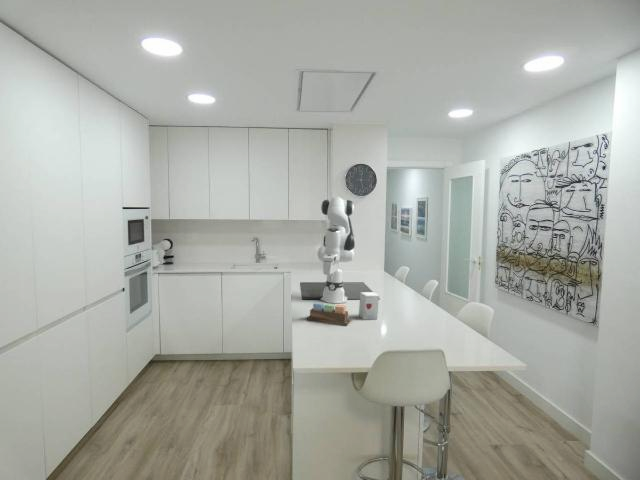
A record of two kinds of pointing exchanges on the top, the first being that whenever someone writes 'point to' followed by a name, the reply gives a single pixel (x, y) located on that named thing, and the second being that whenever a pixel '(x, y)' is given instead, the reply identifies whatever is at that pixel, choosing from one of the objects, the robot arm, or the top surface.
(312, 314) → the divided box
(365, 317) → the supplement box
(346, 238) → the robot arm
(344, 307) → the terracotta block
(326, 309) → the sage block
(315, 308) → the blue block
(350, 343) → the top surface
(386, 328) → the top surface
